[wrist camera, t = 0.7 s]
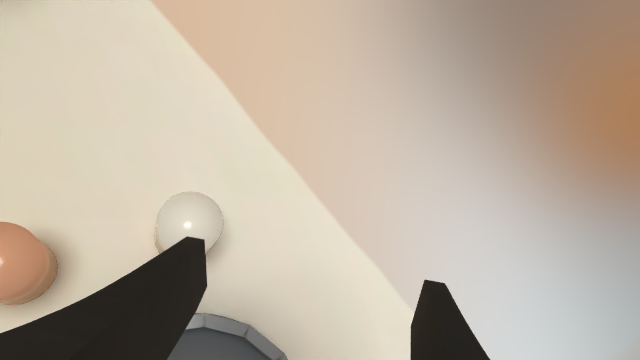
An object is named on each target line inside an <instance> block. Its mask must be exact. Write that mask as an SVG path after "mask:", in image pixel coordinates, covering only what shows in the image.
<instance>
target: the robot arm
mask: <svg viewBox="0 0 640 360" xmlns="http://www.w3.org/2000/svg"><path fill="white" fill-rule="evenodd" d="M206 287H207V275H206V256H205V239H199V238H194V237H189V236H187V237H185V238H184V239H182V240H180V241H179V242H177V243H176V244H174V245H173V246H171V247H170V248H168V249H167V250H165V251H164V252H162V253H161V254H159V255H158V256H156V257H154V258H153V259H151V260H150V261H148V262H147V263H145V264H144V265H142V266H140V267H139V268H137V269H136V270H134V271H132V272H131V273H129V274H127V275H126V276H124V277H122V278H120V279H119V280H117V281H115V282H114V283H112V284H110V285H108V286H107V287H105V288H103V289H101V290H99V291H98V292H96V293H94V294H92V295H90V296H88V297H86V298H84V299H82V300H80V301H78V302H76V303H74V304H72V305H69V306H67V307H65V308H63V309H61V310H58V311H56V312H54V313H51V314H49V315H46V316H44V317H42V318H39V319H37V320H34V321H32V322H30V323H27V324H25V325H22V326H19V327H17V328H14V329H11V330H9V331H6V332H3V333H0V360H167V359H168V357H169V355H170V354H171V352H172V350H173V349H174V347H175V346H176V344H177V342H178V341H179V339H180V337H181V336H182V334H183V332H184V331H185V329H186V327H187V326H188V324H189V323H190V321H191V319H192V317H193V316H194V314H195V312H196V310H197V308H198V306H199V303H200V301H201V299H202V297H203V294H204V292H205V290H206ZM411 360H490V359H489V357H488V356H487V354H486V353H485V351H484V350H483V348H482V347H481V345H480V344H479V342H478V340H477V339H476V337H475V335H474V334H473V332H472V331H471V329H470V327H469V326H468V324H467V322H466V321H465V319H464V317H463V315H462V314H461V312H460V310H459V308H458V306H457V305H456V303H455V301H454V299H453V298H452V295H451V293H450V292H449V290H448V288H447V286H446V285H445V284H444V283H440V282H435V281H429V280H424V284H423V287H422V290H421V294H420V297H419V301H418V304H417V307H416V311H415V314H414V317H413V321H412V324H411Z"/></svg>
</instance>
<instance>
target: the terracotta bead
mask: <svg viewBox="0 0 640 360" xmlns="http://www.w3.org/2000/svg"><path fill="white" fill-rule="evenodd" d="M56 273H57V261H56V258H55V256H54V254H53V252H52V251H51V250H50V249H49V248H48V247H47V246H46V245H44V244H43V243H42V242H41V241H40V240H39V239H37V238H36V237H35V236H34V235H33V234H32V233H31V232H29V231H28V230H27V229H25V228H23V227H21V226H19V225H16V224H13V223H8V222H0V303H1V304H6V305H17V304H23V303H26V302H29V301H31V300H34V299H36V298H37V297H39V296H40V295H42V294H43V293H44V292H45V291H46V290H47V289H48V288H49V287H50V286H51V284H52V283H53V281H54V279H55V276H56Z"/></svg>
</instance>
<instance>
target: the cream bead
mask: <svg viewBox="0 0 640 360" xmlns="http://www.w3.org/2000/svg"><path fill="white" fill-rule="evenodd" d="M222 228H223V216H222V212H221V210H220V208H219V206H218V205H217V204H216V202H215V201H214V200H213V199H211V198H210V197H208V196H206V195H204V194H202V193H198V192H183V193H179V194H177V195H175V196H173V197H171V198H170V199H169V200H167V201H166V202H165V203H164V205H163V206H162V208H161V209H160V212H159V214H158V219H157V226H156V233H155V244H156V248H157V250H158V252H159V253H160V254H161V253H162V252H164V251H165V250H167V249H168V248H170V247H171V246H173V245H174V244H176V243H177V242H179V241H180V240H182V239H184V238H185V237H187V236H189V237H194V238H199V239H205V254H206V253H207V251H208V250H209V249H210V248H211V247H212V245H213V244H214V243H215V242H216V241H217V239H218V238H219V236H220V234H221V232H222Z"/></svg>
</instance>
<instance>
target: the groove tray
mask: <svg viewBox="0 0 640 360" xmlns="http://www.w3.org/2000/svg"><path fill="white" fill-rule="evenodd" d="M167 360H288V359H287V357H286V355H285V353H283V352H282V351H281V350H280V349H279V348H277V347H276V346H275V345H274V344H272V343H271V342H270V341H269V340H268V339H266V338H265V337H264V336H263V335H261V334H260V333H259V332H258V331H257V330H255V329H254V328H253V327H252V326H250V325H248V324H244V323H240V322H238V321H235V320H232V319H230V318H227V317H223V316H217V315H212V314H206V313H205V314H198V313H195V314H194V316H193V317H192V319H191V321H190V323H189V324H188V326H187V327H186V329H185V331H184V332H183V334H182V336H181V337H180V339H179V341H178V342H177V344H176V346H175V347H174V349H173V350H172V352H171V354H170V355H169V357H168V359H167Z"/></svg>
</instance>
